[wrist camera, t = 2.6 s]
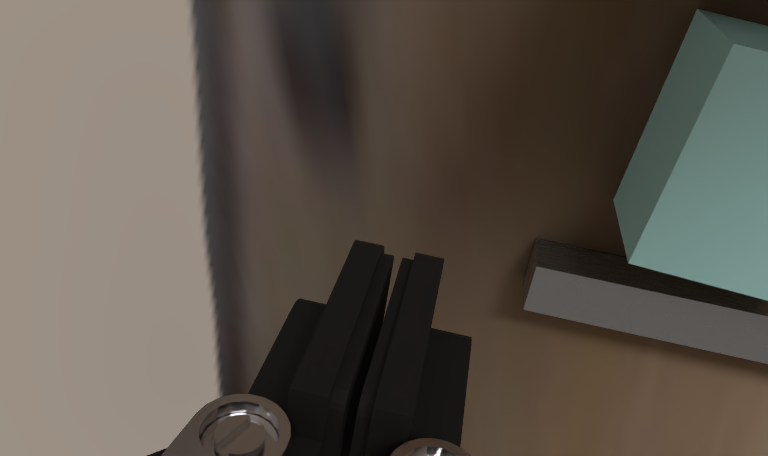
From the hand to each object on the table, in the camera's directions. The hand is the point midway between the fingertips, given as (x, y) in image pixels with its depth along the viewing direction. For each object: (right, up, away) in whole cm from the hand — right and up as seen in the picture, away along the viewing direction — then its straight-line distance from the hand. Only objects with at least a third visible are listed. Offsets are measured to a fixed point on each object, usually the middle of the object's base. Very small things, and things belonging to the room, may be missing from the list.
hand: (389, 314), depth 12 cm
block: (+12, +5, +10) cm, 17 cm away
